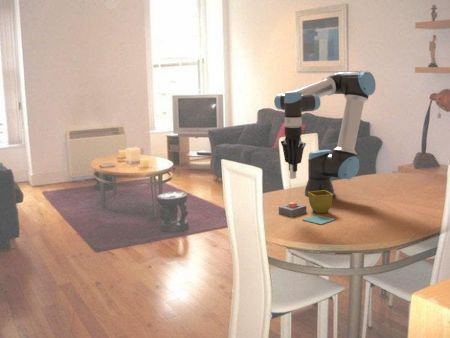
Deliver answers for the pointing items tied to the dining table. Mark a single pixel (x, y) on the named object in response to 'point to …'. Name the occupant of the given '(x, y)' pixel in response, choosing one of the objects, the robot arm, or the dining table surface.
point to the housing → (292, 210)
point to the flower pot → (320, 201)
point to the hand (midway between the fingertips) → (293, 178)
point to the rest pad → (318, 219)
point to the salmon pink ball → (292, 204)
